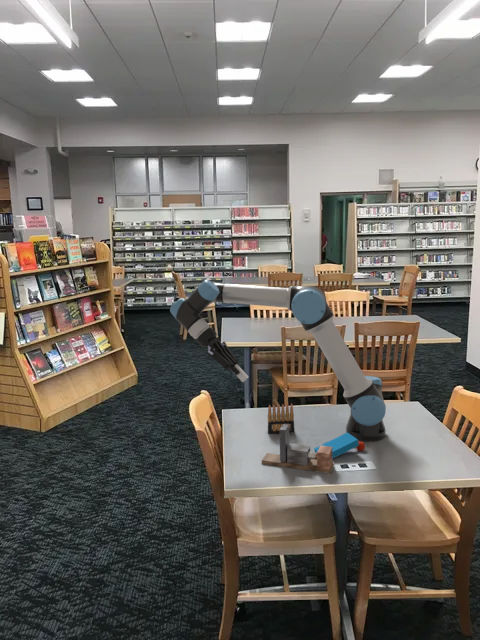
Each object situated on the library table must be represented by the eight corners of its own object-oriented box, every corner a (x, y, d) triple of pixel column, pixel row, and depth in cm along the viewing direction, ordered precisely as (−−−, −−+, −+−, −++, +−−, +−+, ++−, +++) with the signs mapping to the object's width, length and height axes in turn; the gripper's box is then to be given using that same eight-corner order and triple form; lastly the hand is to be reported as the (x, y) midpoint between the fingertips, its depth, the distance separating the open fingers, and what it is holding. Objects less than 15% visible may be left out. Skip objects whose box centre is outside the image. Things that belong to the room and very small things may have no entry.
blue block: (328, 473, 172) (370, 452, 176) (323, 456, 170) (366, 435, 175) (318, 465, 178) (360, 444, 183) (313, 448, 176) (355, 428, 181)
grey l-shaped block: (280, 461, 168) (279, 429, 166) (284, 454, 173) (283, 424, 171) (324, 467, 163) (324, 434, 161) (327, 461, 167) (327, 429, 165)
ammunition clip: (293, 431, 198) (293, 402, 196) (294, 432, 196) (294, 404, 194) (267, 432, 197) (266, 403, 195) (268, 434, 195) (267, 405, 193)
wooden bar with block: (261, 463, 171) (261, 445, 169) (267, 456, 176) (266, 438, 175) (330, 473, 162) (330, 454, 161) (333, 465, 167) (333, 446, 166)
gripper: (204, 336, 191) (245, 381, 188) (189, 343, 179) (232, 391, 176) (216, 323, 188) (258, 368, 185) (201, 330, 176) (246, 378, 173)
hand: (245, 379), depth 180 cm, fingers closed
